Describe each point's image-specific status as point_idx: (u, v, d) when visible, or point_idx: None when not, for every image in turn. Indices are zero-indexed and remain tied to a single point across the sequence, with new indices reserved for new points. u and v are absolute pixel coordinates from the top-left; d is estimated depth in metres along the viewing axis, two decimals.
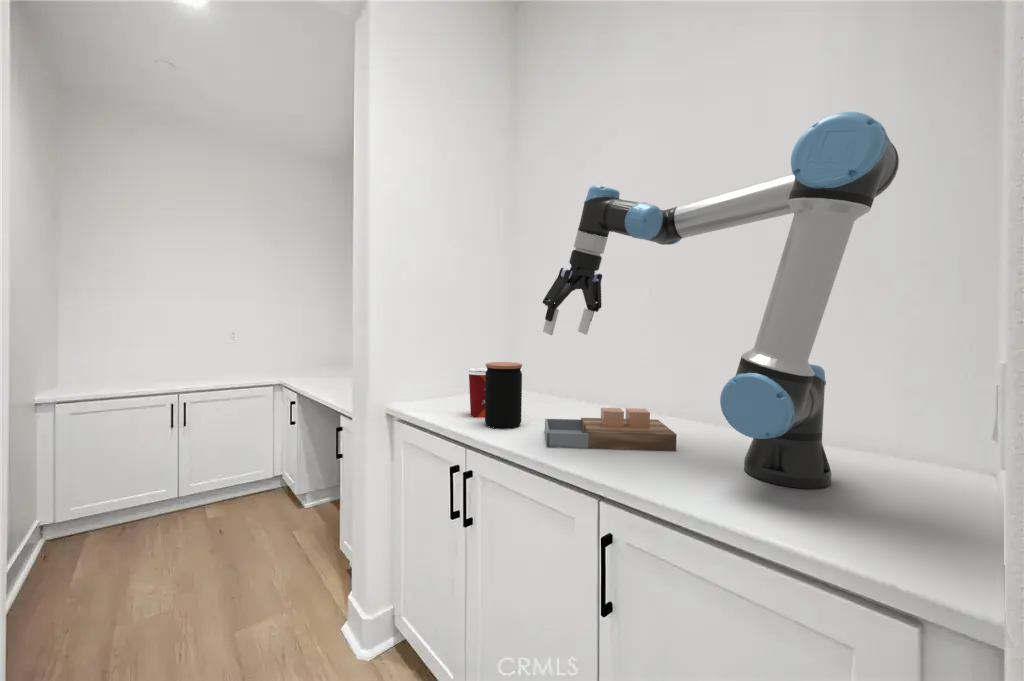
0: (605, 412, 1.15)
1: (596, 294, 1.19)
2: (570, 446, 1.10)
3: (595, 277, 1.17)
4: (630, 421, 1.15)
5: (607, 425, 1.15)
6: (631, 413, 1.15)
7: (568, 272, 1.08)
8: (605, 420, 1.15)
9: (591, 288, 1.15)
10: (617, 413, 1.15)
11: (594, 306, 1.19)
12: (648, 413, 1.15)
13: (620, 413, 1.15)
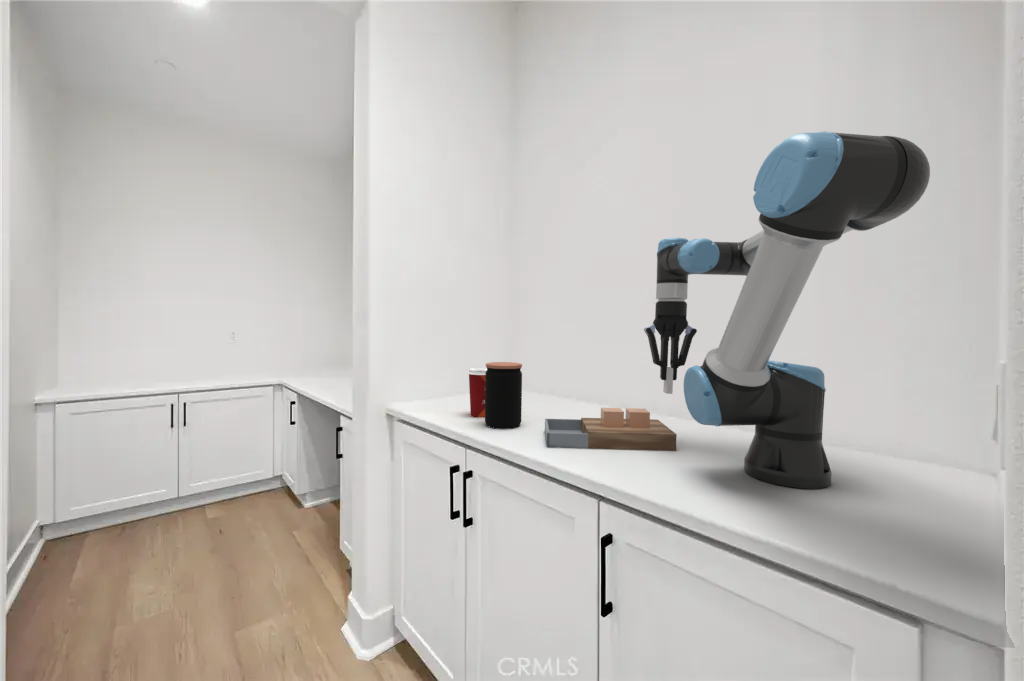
0: (605, 412, 1.15)
1: (683, 348, 1.16)
2: (570, 446, 1.10)
3: (689, 329, 1.15)
4: (630, 421, 1.15)
5: (607, 425, 1.15)
6: (631, 413, 1.15)
7: (648, 330, 1.15)
8: (605, 420, 1.15)
9: (677, 337, 1.14)
10: (617, 413, 1.15)
11: (675, 362, 1.15)
12: (648, 413, 1.15)
13: (620, 413, 1.15)
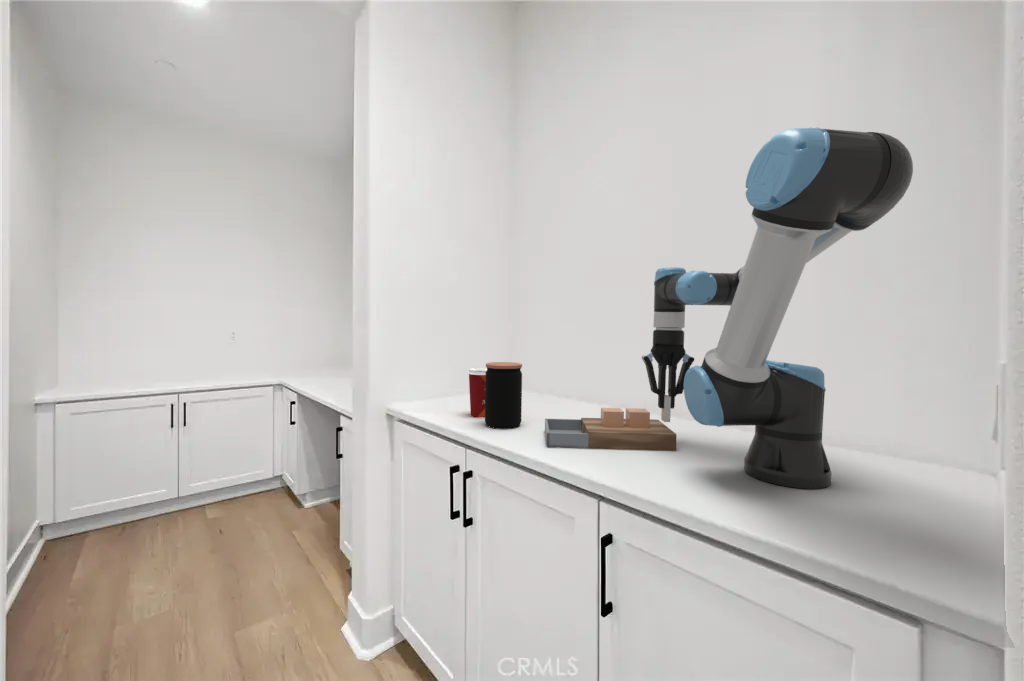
0: (605, 412, 1.15)
1: (681, 376, 1.16)
2: (570, 446, 1.10)
3: (686, 358, 1.16)
4: (630, 421, 1.15)
5: (607, 425, 1.15)
6: (631, 413, 1.15)
7: (645, 359, 1.15)
8: (605, 420, 1.15)
9: (674, 366, 1.15)
10: (617, 413, 1.15)
11: (673, 390, 1.15)
12: (648, 413, 1.15)
13: (620, 413, 1.15)
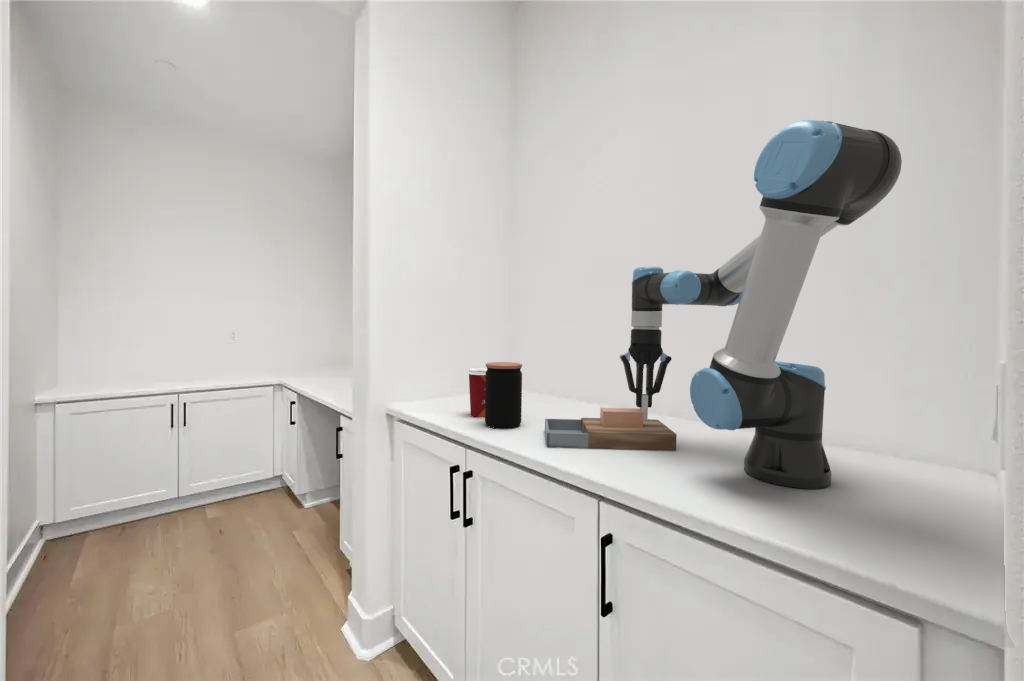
0: (604, 412, 1.15)
1: (658, 376, 1.16)
2: (570, 446, 1.10)
3: (663, 357, 1.16)
4: (623, 421, 1.15)
5: (606, 425, 1.15)
6: (624, 413, 1.15)
7: (622, 358, 1.16)
8: (604, 420, 1.15)
9: (651, 365, 1.15)
10: (616, 413, 1.15)
11: (650, 389, 1.16)
12: (641, 413, 1.15)
13: (619, 413, 1.15)
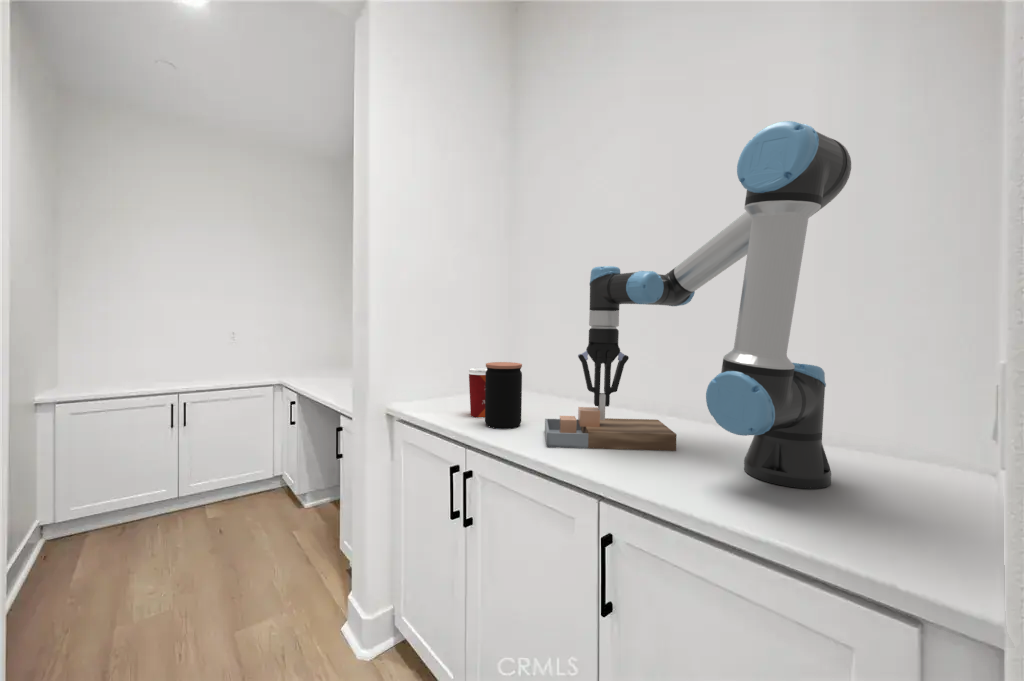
0: None
1: (616, 375, 1.17)
2: (570, 446, 1.10)
3: (621, 356, 1.16)
4: (580, 420, 1.16)
5: None
6: (581, 412, 1.15)
7: (580, 357, 1.16)
8: None
9: (609, 364, 1.15)
10: (562, 426, 1.16)
11: (607, 388, 1.16)
12: (598, 412, 1.15)
13: (562, 423, 1.16)
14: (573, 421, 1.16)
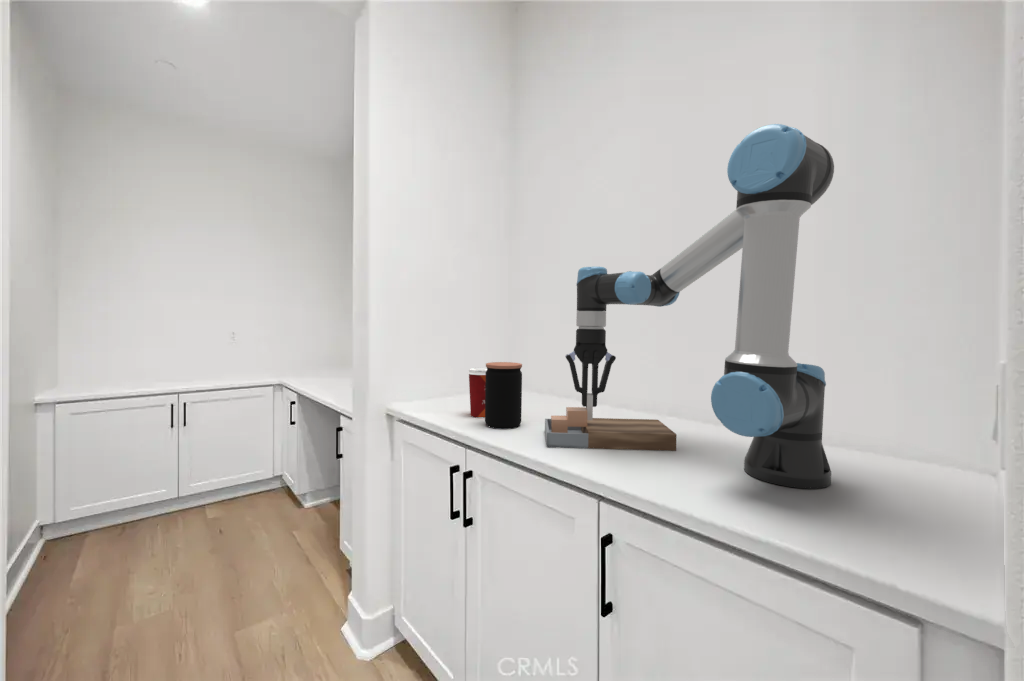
0: None
1: (603, 375, 1.17)
2: (570, 446, 1.10)
3: (608, 356, 1.16)
4: (568, 420, 1.16)
5: None
6: (569, 412, 1.15)
7: (567, 357, 1.16)
8: None
9: (596, 365, 1.15)
10: (553, 425, 1.16)
11: (595, 389, 1.16)
12: (585, 412, 1.15)
13: (553, 423, 1.16)
14: (564, 421, 1.15)
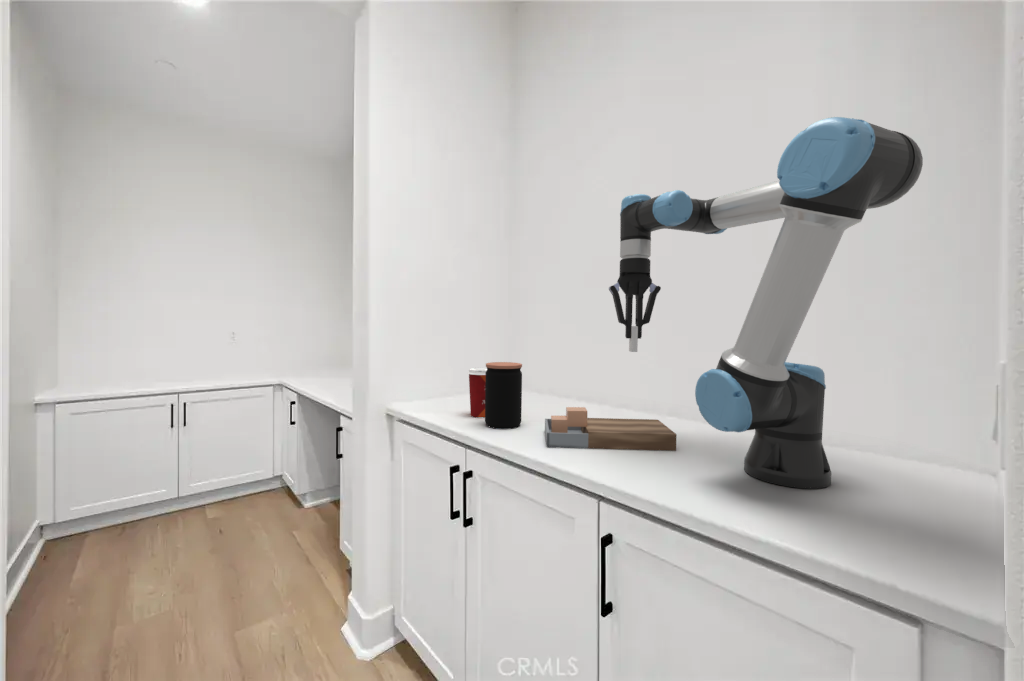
0: None
1: (648, 306, 1.15)
2: (570, 446, 1.10)
3: (653, 287, 1.15)
4: (568, 420, 1.16)
5: None
6: (569, 412, 1.15)
7: (612, 288, 1.15)
8: None
9: (641, 295, 1.14)
10: (553, 425, 1.16)
11: (639, 320, 1.15)
12: (585, 412, 1.15)
13: (553, 423, 1.16)
14: (564, 421, 1.15)
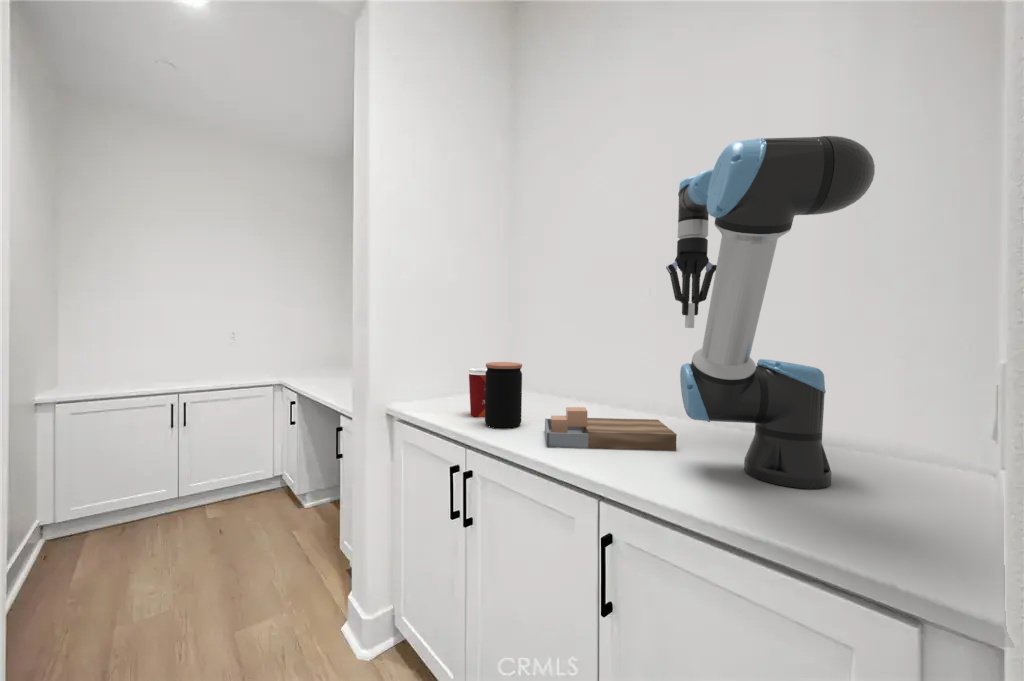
0: None
1: (704, 284, 1.20)
2: (570, 446, 1.10)
3: (709, 266, 1.20)
4: (568, 420, 1.16)
5: None
6: (569, 412, 1.15)
7: (670, 267, 1.20)
8: None
9: (698, 273, 1.19)
10: (553, 425, 1.16)
11: (696, 297, 1.20)
12: (585, 412, 1.15)
13: (553, 423, 1.16)
14: (564, 421, 1.15)
